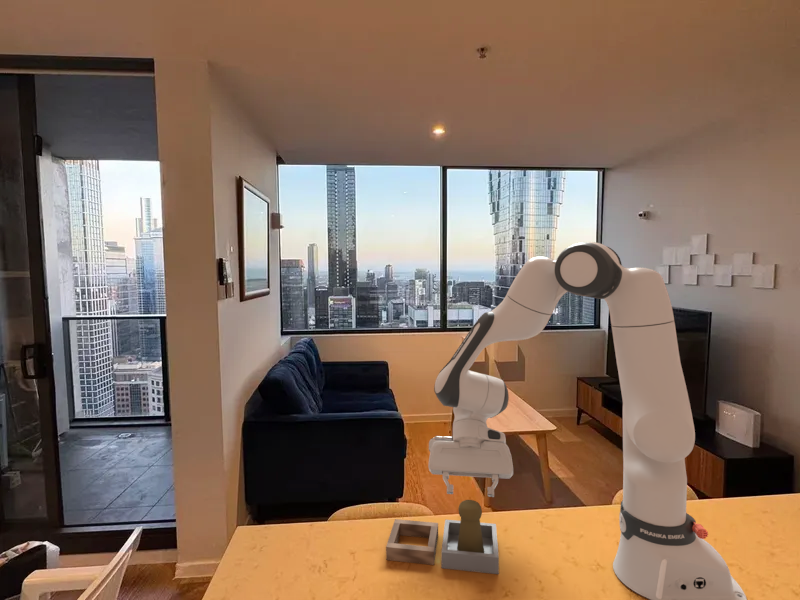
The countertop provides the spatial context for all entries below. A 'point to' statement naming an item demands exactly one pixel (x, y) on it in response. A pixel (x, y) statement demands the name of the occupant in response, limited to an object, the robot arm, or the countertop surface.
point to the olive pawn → (470, 527)
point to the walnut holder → (412, 551)
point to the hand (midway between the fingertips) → (470, 494)
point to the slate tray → (470, 560)
